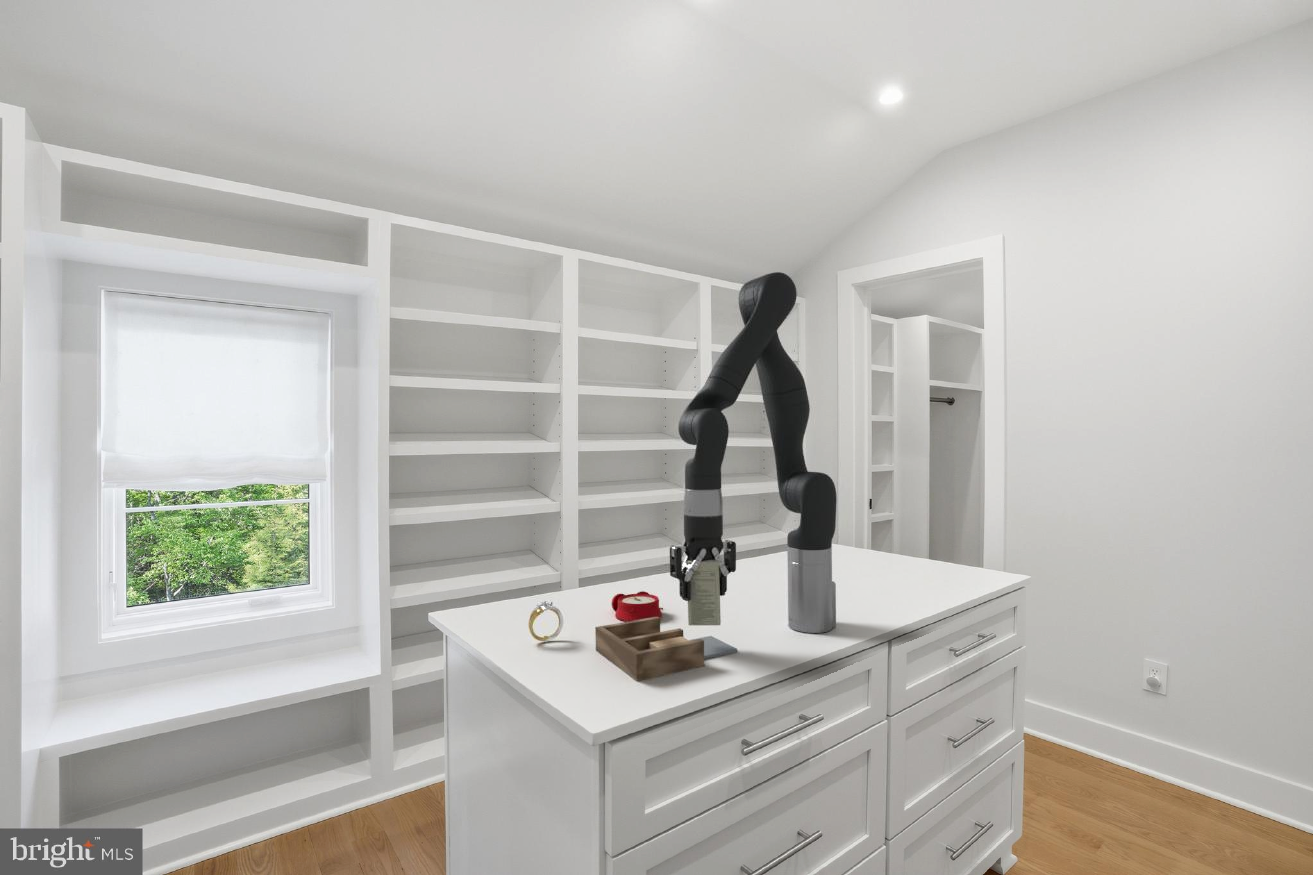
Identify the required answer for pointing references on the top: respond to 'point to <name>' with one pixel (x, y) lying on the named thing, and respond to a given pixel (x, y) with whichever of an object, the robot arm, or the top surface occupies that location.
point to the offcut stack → (667, 642)
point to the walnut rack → (647, 649)
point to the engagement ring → (537, 612)
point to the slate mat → (715, 647)
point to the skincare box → (705, 594)
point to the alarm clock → (636, 606)
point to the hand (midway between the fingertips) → (703, 597)
